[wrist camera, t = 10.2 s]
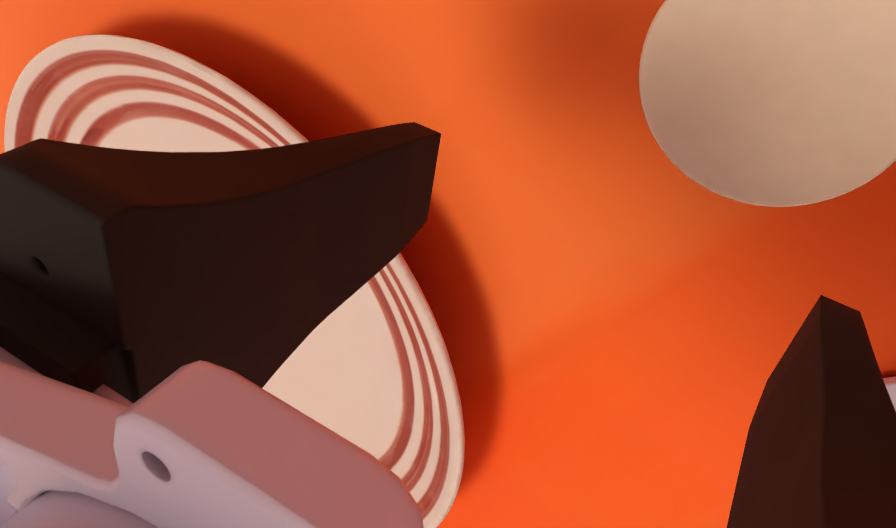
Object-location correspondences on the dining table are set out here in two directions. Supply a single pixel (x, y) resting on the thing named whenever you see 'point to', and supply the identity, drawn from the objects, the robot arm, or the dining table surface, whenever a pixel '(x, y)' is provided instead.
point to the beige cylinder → (773, 95)
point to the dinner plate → (337, 337)
